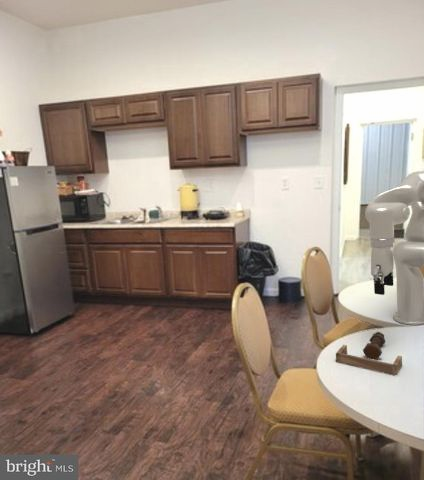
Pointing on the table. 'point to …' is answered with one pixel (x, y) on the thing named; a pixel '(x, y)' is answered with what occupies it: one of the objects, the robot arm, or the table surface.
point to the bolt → (374, 346)
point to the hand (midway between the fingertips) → (384, 289)
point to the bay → (368, 362)
